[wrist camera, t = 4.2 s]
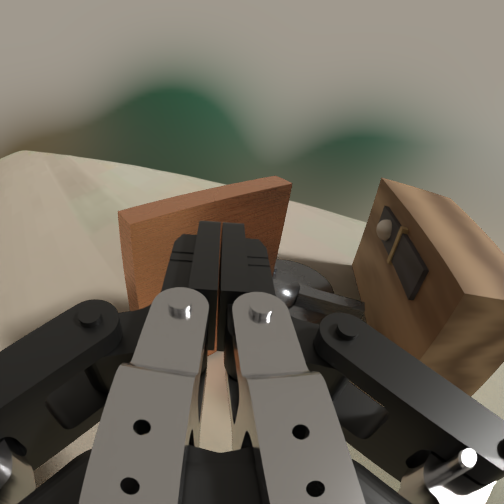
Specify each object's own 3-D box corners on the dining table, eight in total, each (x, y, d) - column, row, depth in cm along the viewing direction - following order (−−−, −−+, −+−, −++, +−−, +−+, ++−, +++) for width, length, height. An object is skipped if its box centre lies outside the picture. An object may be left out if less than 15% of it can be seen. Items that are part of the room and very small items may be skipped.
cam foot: (263, 253, 36) (284, 144, 29) (365, 322, 28) (418, 202, 21) (108, 320, 24) (84, 174, 17) (210, 454, 16) (224, 316, 9)
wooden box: (365, 404, 21) (445, 290, 14) (340, 263, 37) (368, 174, 31) (467, 400, 20) (544, 306, 14) (416, 276, 37) (450, 198, 31)
